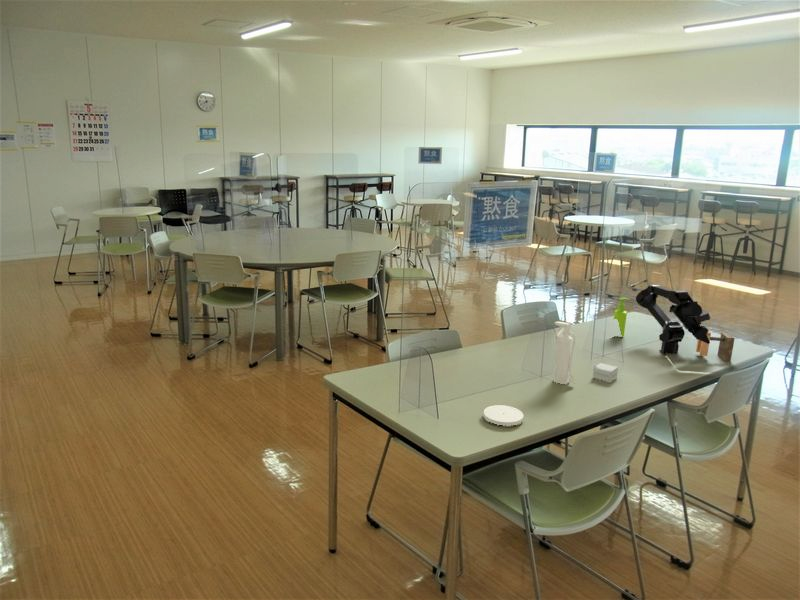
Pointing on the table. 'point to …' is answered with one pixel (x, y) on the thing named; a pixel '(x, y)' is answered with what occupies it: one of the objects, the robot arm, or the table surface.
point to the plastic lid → (503, 415)
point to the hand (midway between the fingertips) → (706, 341)
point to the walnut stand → (725, 346)
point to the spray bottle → (564, 354)
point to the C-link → (703, 346)
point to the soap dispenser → (621, 315)
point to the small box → (605, 372)
